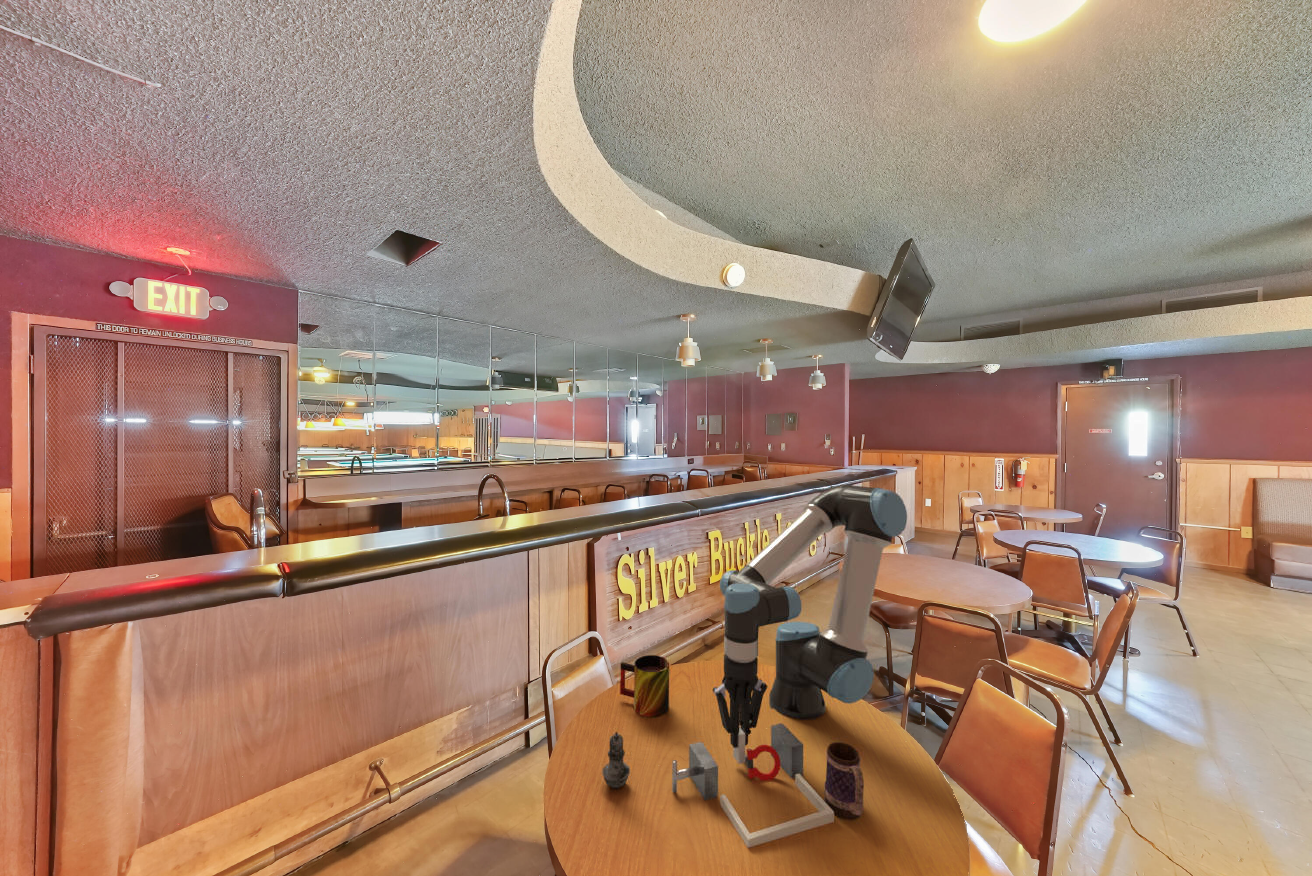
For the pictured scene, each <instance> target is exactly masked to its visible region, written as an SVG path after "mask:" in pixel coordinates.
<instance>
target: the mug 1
mask: <svg viewBox="0 0 1312 876" xmlns="http://www.w3.org/2000/svg"><path fill="white" fill-rule="evenodd" d="M633 663H634V664H632V663H628V662H627V663H626V662H623V661H622V662H621V663H620V678H619V679H620V682H619V693H620V695H622V696H626V697H629V698H633V699H634V701H633V704H634V705H633V707H634V711H635V712H636V713H637V714H639V715H640V716H642V717H646V718H656V717H660V716H663V715H664V714H666V713H667V712H668V710H669V707H670V662H669V660H668V659H667V658H665V657H664V656H660V655H654V654H652V655H651V654H649V655H643V656H641V657H639V658H637V659H635V661H634V662H633ZM626 672H629V673H634V677H633V678H634V679H633V681H634V683H633V684H634V685H633V686H634V687H633V690H632V689H630V688H626Z"/></svg>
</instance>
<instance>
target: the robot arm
mask: <svg viewBox="0 0 1312 876" xmlns="http://www.w3.org/2000/svg"><path fill="white" fill-rule="evenodd" d="M907 523H908V512H907V507H906V505H905V502H904V500H903V499H902V497H901V496H900V495H899V494H898V493H897V492H895V491H893V490H889V489H886V488H885V489H884V488H880V487H870V486H860V485H853V484H841V485H837V486H833V487H831V488H828V489H826V490H825V491H823V492H821V493H819V494H818V495H817V496H815V497H813V499H811V500H810V501H808V502H807V504H806V505H805V506H803V507H802V513H801V514H800V515H799V516H798V517H797V518H795V519H794V520H793V521H792V522H791V524H789V525H788V526H787V527H786V528H784V529H783V531H781V532H780V533H779V534H778V535H777V536H776V537H775V538H773V540H772V541H770V542H769V544H767V545H766V546H764V547H763V548H762V549H761V550H760V551H759V553H757V555H755V556H754V557H753V558H752V559H751V560H750V561H749V562H748V563H747V564H745V565H744V566H743V567H742V568H741V569H740V570H739V571H738V570H733V569H731V570H729V571H726V572H724V573H723V575H722V576H721V578H720V582H719V590H720V591H721V594H722V595H723V596H724V602H723V603H724V604H723V607H724V637H723V639H724V640H723V641H724V642H723V643H724V644H723V645H724V646H723V647H724V649H723V652H724V655H723V674H724V675H723V678H722V679H721V680H722V681H721V682H722V683H721V684H720V685H719V686H718V687H717V686H714V687H713V688H712V692H713V694H714V695H715V697H716V701H717V706H718V711H719V715H720V719H721V725H722V727H723V728H724V730H725V731H726V733H727V734H730V736H729V737H730V741H729V742H730V745H731V746H732V748H733V750H732V757H733V758H734V760H736V762H737V763H738V765H743V764H746V762H745V754H746V746H748V744H749V735H750V734H752V730H751V729H755V728H757V726H758V725H757V724H758V721H759V716H760V713H761V706H762V703H763V698H764V694H765V693H766V691H767V689H768V684H766V682H764V681H763V680H762V679H761V678H760V679H759V676H758V669H759V667H758V666H759V665H758V664H759V663H758V661H759V659H758V656H759V630H760V629H759V628H760V627H765V626H767V625H775V624H779V623H782V624H780V625H779V626H777V628H776V635H775V636H776V637H775V678H774V681H773V683H772V688H771V689H770V692H769V700H768V703H769V705H768V706H769V707H770V709H773V710H775V711H776V712H778V713H780V714H781V715H783V716H785V717H788V718H791V719H795V720H804V721H805V720H806V721H809V720H811V721H812V720H815V719H818V718H820V717H822V716H823V715H824V714H825V713H826V701H825V698H824V695H823V692H824V693H826V694H828V696H830V697H832V699H836V700H838V701H840V702H841V703H845V704H855V703H857V702H859V701H860V700H862V698H863V697H865V696H866V695H867V694H868V692H869V690H870V689H871V687H872V685H873V682H874V677H875V672H874V669H873V665H872V663H871V662H870V661H869V660H868V659H867V658H868V653H869V649H868V648H867V646H866V644H865V643H864V638H865V633H866V628H867V624H868V620H869V616H870V611H871V607H872V601H873V597H874V592H875V588H876V583H877V579H878V574H879V571H880V570H879V569H880V565H881V560H882V556H883V551H884V549H885V548H887V547H888V546H890V545H892V542H893V541H892V540H893V538H896V537H898V536H900V535H902V533H903V532H904V531H905V529H906V526H907ZM840 526H841V527H842V526H844V530H843V533H844V534H845V536H846V537H847V539H848V540H847V545H846V549H845V553H844V557H843V561H842V566H841V571H840V575H839V579H838V583H837V588H836V592H835V597H834V601H833V605H832V611H831V612H830V613H831V614H830V618H829V623H828V627H827V628H826V629H824V630H823V631H821V630H820V629H819V628H820V627H819V626H818V625H816V624H814V623H810V622H807V621H806V622H805V621H791V620H793V619H796V618H798V617H799V616H800V614H801V612H802V607H803V606H802V605H803V604H802V600H801V597H800V594H799V593H798V591H797V590H796V589H795V588H794V587H792V586H778V587H775V586H772V585H770V584H772V583H773V581H774V580H776V579H777V577H779V576H780V575H781V573H783V572H784V571H785V570H786V569H787V568H788V567H789V566H791V564H792V563H793V562H794V561H795V560H796V559H797V558H799V556H801V554H803V553H804V552H805V551H806V550H807V549H808V548H809V547H810V546H811V545H812V544H813V543H814V542H815V541H816V540H817V539H818V538H819V537H820V536H822V535H823V533H825V534H826V533H827V534H828V533H830V532H831V531H832V530H833V529H834V528H836V527H840ZM783 622H784V623H783ZM822 691H823V692H822ZM726 692H727V693H728V697H729V706H728V702H727V699H726V697H727V693H726ZM728 707H729V708H728Z"/></svg>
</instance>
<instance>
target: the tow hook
mask: <svg viewBox="0 0 1312 876" xmlns="http://www.w3.org/2000/svg"><path fill="white" fill-rule="evenodd" d="M763 752H764V753H765V752H767V753H769V754H770V755H771V754H772V756H773V757H772V756H771V757H772V758H773V760H774V761H773V762H774V764H773V768H772V770H770V771H769V772H767V773H764V772H761V771H760V770H759V769H758V767H754V759H755V760H756V759H757V758H758V756H759V755H760V754H762V753H763ZM745 766H746V767H747V773H748V778H750V779H753V778H758V779H759V780H761V781H770V780H774V779H775V778H776V777H777V775H779V773H780V770H781V766H780V758H779V755H778V753H777V752H776V750H775V749H774V748H772V747H771V745H768V744H761V745H758V746H756V747H755V748H754V749H751V748H747V749H746V753H745Z"/></svg>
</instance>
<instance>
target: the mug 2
mask: <svg viewBox="0 0 1312 876" xmlns="http://www.w3.org/2000/svg"><path fill="white" fill-rule="evenodd" d="M825 773H826V774H825V782H824V801H825V803H826V804H827V805H828V806H829V807H830V808H831V809H832V810H833V811H834V817H837V818H839V819H843V820H845V821H853V820H857V819H859V818H860V817H861V816H862V815H864V814H863V812H864V791H865V790H864V789H865V780H864V774H863V771H862V769H861V758H860V754H859V752H858V750H857V749H856V748H855V747H854V746H852V745H850V744H848V743H847V742H846V743H845V742H840V741H835V742H831V743H829V744H828V746H827V749H826V771H825Z"/></svg>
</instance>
